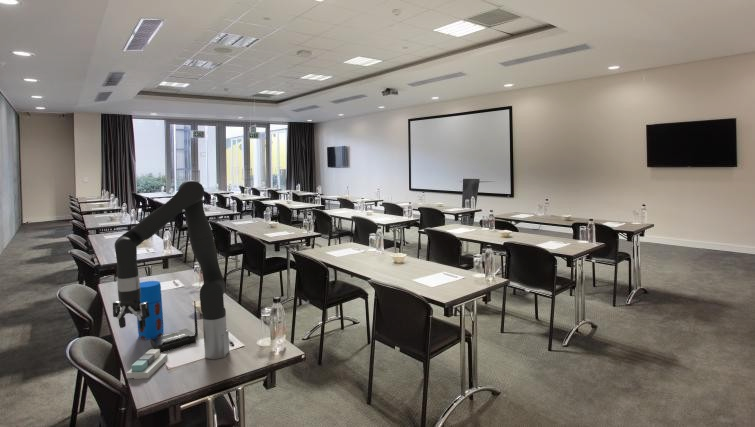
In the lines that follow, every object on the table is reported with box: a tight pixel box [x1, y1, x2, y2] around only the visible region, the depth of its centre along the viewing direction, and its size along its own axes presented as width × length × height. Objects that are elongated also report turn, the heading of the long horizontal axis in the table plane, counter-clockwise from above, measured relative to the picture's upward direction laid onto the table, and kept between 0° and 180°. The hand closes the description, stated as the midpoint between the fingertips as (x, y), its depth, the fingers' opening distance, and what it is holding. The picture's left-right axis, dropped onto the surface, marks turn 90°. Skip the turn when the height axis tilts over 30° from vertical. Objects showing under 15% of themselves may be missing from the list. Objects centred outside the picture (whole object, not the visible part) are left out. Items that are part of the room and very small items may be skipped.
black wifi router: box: [150, 301, 199, 354], centre depth 196 cm, size 20×14×17 cm
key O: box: [131, 359, 148, 372], centre depth 168 cm, size 4×4×3 cm
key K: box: [144, 348, 161, 360], centre depth 177 cm, size 4×4×3 cm
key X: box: [137, 354, 154, 366], centre depth 172 cm, size 4×4×3 cm
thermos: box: [136, 280, 164, 340], centre depth 205 cm, size 11×11×25 cm
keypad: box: [126, 353, 169, 380], centre depth 173 cm, size 8×16×2 cm, turn 1°
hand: (132, 327), depth 169 cm, fingers open, 8 cm apart
